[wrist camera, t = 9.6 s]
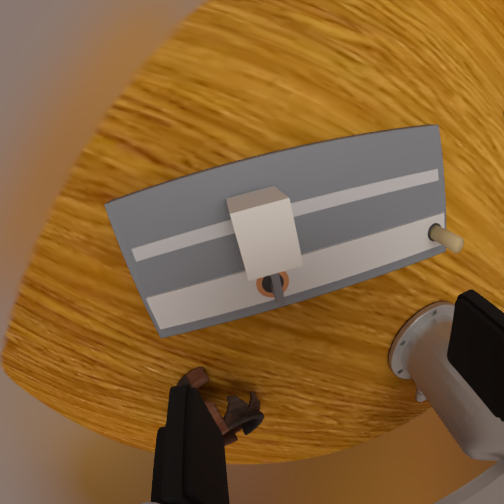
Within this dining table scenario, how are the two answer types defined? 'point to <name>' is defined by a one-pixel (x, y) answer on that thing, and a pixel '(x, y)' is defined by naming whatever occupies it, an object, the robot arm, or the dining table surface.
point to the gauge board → (305, 217)
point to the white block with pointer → (266, 235)
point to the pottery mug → (228, 409)
